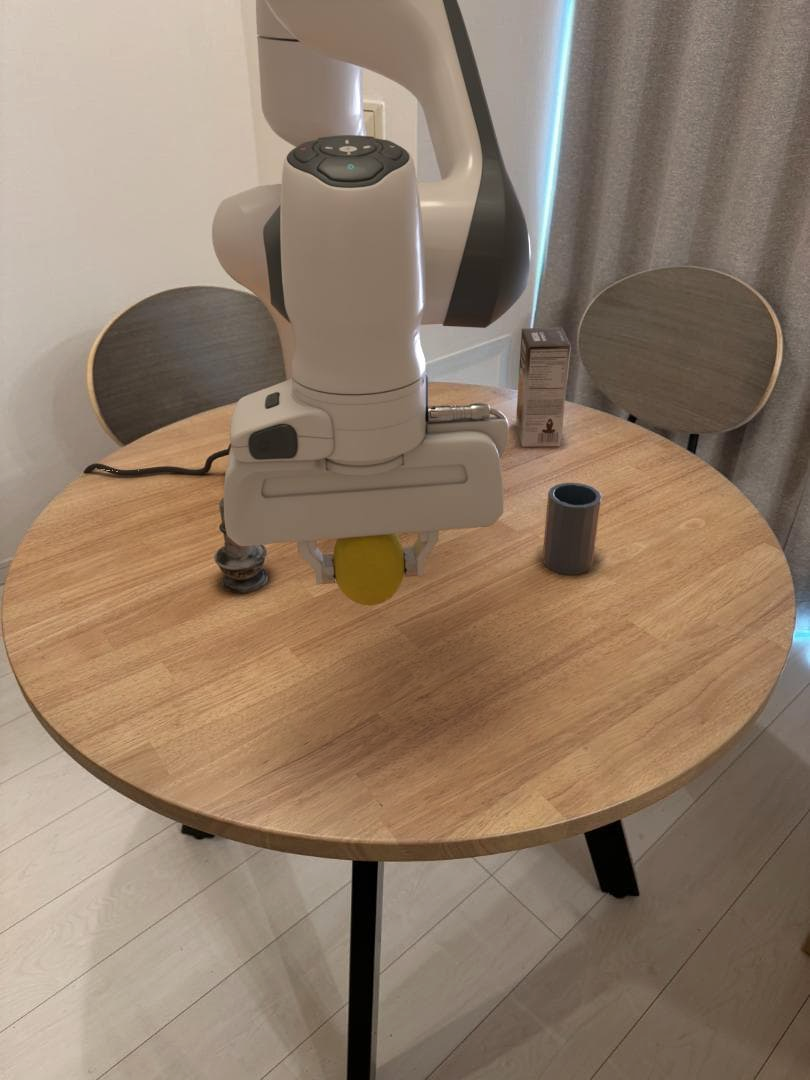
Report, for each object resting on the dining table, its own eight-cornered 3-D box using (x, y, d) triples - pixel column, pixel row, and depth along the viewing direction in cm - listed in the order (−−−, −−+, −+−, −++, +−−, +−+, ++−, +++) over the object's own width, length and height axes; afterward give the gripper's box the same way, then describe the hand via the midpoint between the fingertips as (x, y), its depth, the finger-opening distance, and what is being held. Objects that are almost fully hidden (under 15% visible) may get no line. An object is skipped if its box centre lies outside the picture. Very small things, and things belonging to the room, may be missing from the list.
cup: (537, 569, 86) (543, 502, 81) (548, 544, 91) (555, 479, 86) (587, 579, 84) (596, 511, 79) (596, 553, 89) (605, 487, 84)
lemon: (324, 616, 58) (316, 530, 53) (354, 577, 62) (349, 495, 58) (388, 633, 56) (386, 545, 52) (415, 592, 60) (415, 508, 56)
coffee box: (514, 423, 122) (520, 326, 113) (553, 423, 122) (562, 326, 113) (521, 447, 114) (528, 345, 105) (562, 447, 114) (572, 344, 105)
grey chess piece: (279, 570, 87) (266, 480, 81) (254, 598, 82) (239, 505, 76) (235, 562, 89) (220, 473, 82) (209, 589, 84) (190, 497, 78)
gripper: (499, 385, 54) (490, 543, 61) (214, 402, 52) (241, 563, 59) (522, 420, 48) (508, 588, 56) (205, 440, 46) (235, 612, 54)
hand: (369, 576), depth 58 cm, fingers closed on lemon, 5 cm apart
